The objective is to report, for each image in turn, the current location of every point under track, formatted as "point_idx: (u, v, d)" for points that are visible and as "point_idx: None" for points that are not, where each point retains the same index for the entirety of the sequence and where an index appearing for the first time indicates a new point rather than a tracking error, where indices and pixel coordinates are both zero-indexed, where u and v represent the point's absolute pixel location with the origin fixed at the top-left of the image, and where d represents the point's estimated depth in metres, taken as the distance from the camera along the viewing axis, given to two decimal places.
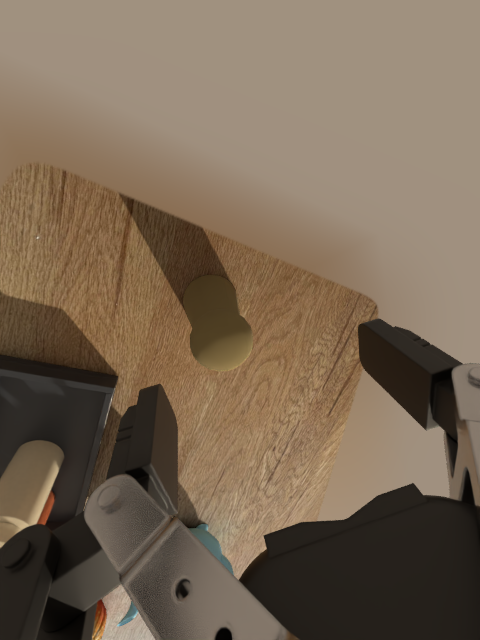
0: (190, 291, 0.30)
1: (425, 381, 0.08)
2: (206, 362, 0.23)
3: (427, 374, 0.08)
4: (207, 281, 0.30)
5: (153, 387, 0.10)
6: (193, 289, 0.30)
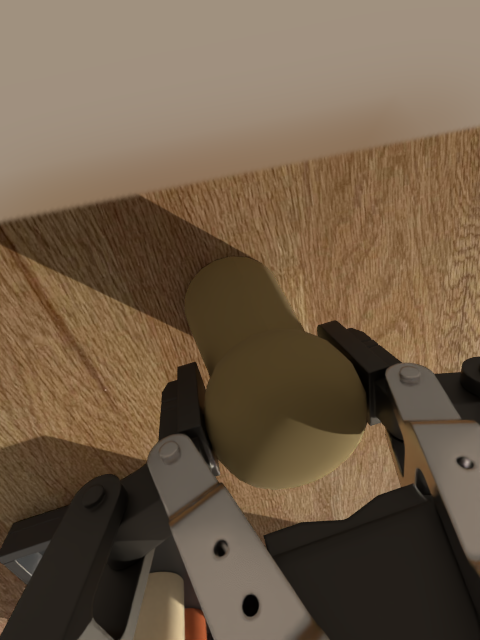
0: (189, 314, 0.16)
1: (365, 379, 0.09)
2: (276, 486, 0.09)
3: (366, 373, 0.09)
4: (204, 281, 0.15)
5: (190, 364, 0.11)
6: (190, 309, 0.15)
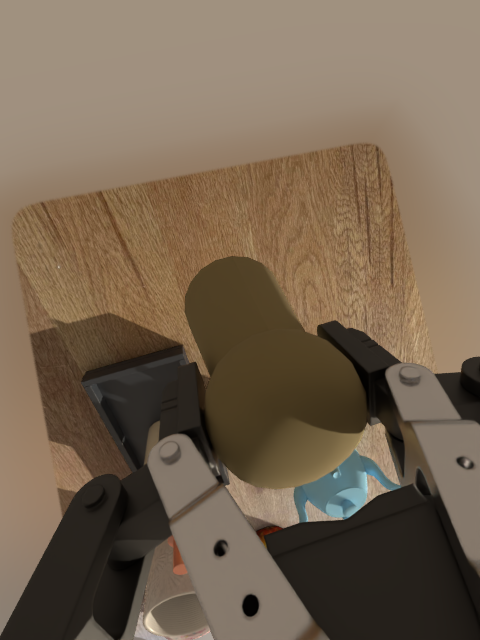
0: (189, 314, 0.16)
1: (365, 379, 0.09)
2: (277, 486, 0.09)
3: (366, 373, 0.09)
4: (205, 281, 0.15)
5: (190, 364, 0.11)
6: (190, 309, 0.16)
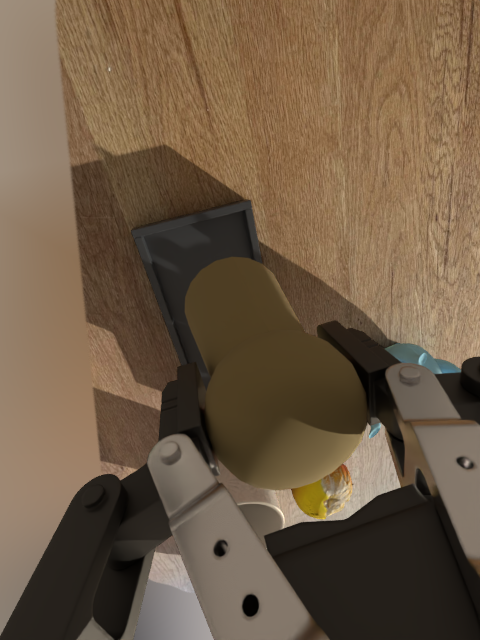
0: (189, 315, 0.16)
1: (365, 379, 0.09)
2: (277, 487, 0.09)
3: (366, 373, 0.09)
4: (205, 282, 0.15)
5: (190, 364, 0.11)
6: (190, 309, 0.16)
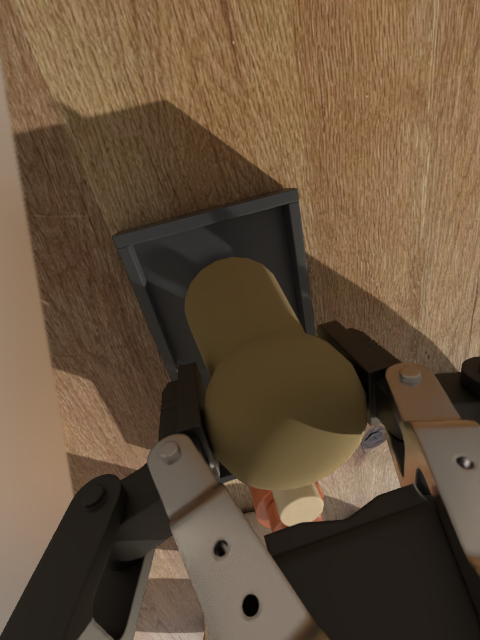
0: (189, 315, 0.16)
1: (365, 379, 0.09)
2: (277, 487, 0.09)
3: (366, 373, 0.09)
4: (205, 282, 0.15)
5: (190, 364, 0.11)
6: (190, 310, 0.16)
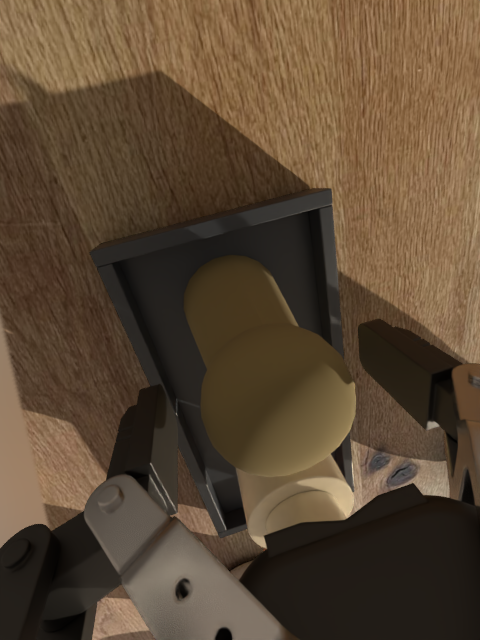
0: (187, 311, 0.16)
1: (425, 381, 0.08)
2: (270, 473, 0.09)
3: (427, 374, 0.08)
4: (203, 279, 0.16)
5: (153, 387, 0.10)
6: (189, 306, 0.16)
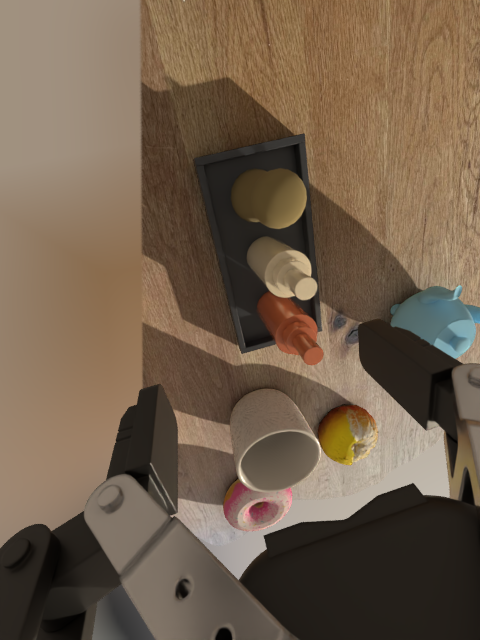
0: (235, 193, 0.34)
1: (425, 381, 0.08)
2: (275, 219, 0.27)
3: (427, 374, 0.08)
4: (243, 176, 0.33)
5: (153, 387, 0.10)
6: (236, 189, 0.33)
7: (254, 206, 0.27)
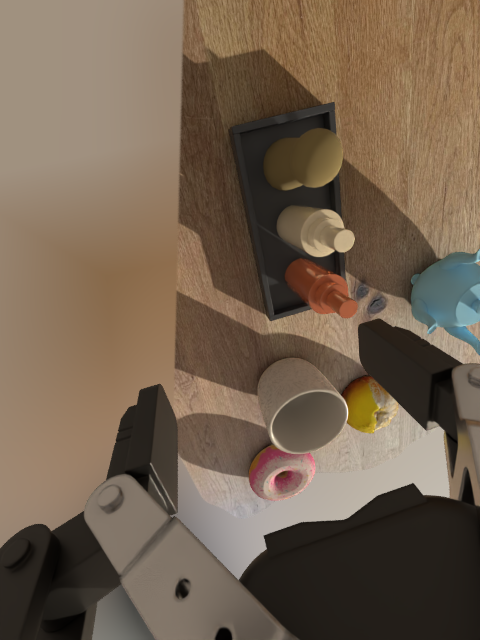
0: (268, 161, 0.36)
1: (425, 381, 0.08)
2: (314, 177, 0.29)
3: (427, 374, 0.08)
4: (276, 144, 0.35)
5: (153, 387, 0.10)
6: (270, 156, 0.35)
7: (294, 164, 0.29)
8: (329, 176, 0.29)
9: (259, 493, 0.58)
